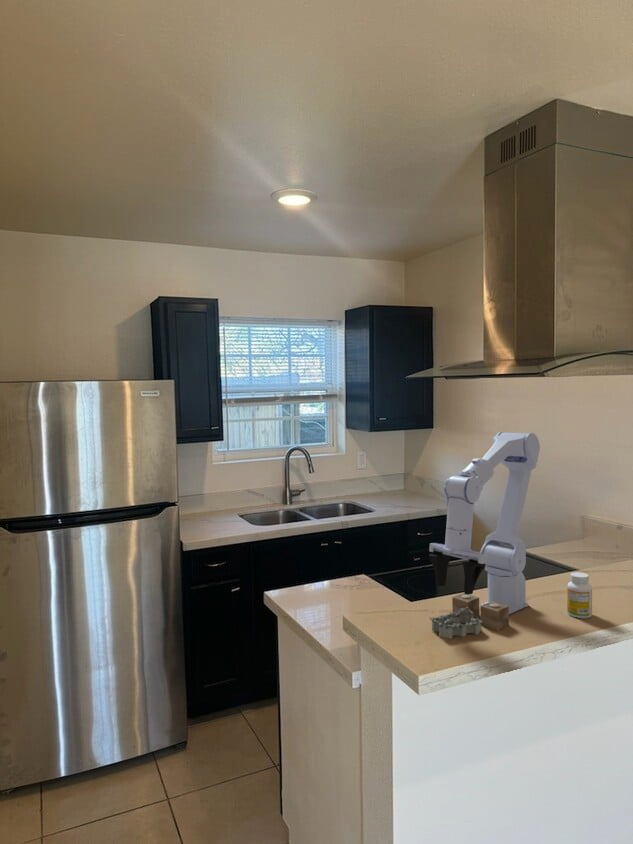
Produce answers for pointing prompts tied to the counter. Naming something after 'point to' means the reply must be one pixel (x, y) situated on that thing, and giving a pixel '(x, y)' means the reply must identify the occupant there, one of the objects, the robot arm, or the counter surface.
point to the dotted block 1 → (466, 603)
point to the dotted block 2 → (494, 615)
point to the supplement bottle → (579, 596)
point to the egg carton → (456, 623)
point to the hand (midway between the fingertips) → (454, 589)
